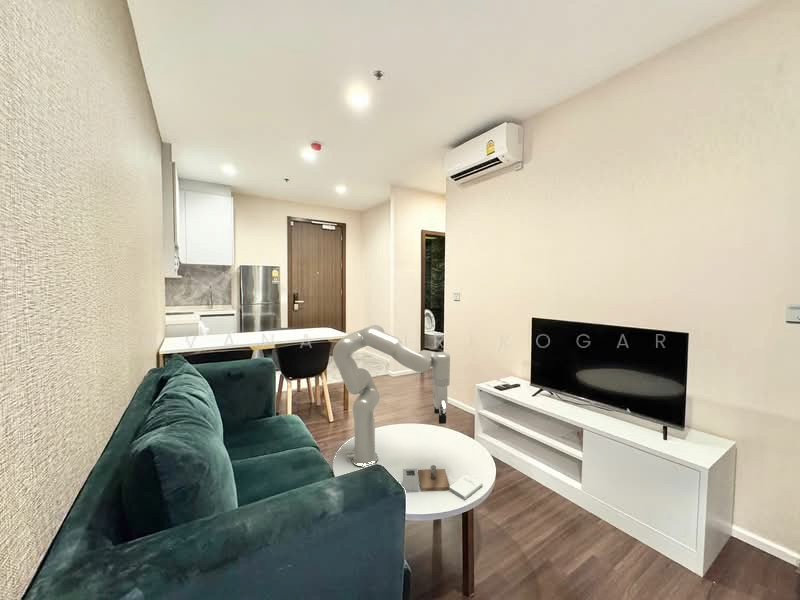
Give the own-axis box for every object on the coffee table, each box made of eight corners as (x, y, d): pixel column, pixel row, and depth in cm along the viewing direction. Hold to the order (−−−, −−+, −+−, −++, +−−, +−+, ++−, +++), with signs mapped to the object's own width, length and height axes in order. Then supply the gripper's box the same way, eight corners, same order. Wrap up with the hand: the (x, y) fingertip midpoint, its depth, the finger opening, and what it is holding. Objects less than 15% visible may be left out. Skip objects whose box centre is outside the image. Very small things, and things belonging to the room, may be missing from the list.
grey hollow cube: (403, 491, 132) (403, 477, 131) (402, 482, 138) (402, 468, 137) (418, 491, 132) (418, 477, 131) (416, 481, 138) (417, 468, 137)
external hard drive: (448, 490, 133) (466, 476, 141) (464, 500, 127) (482, 486, 135) (448, 486, 133) (466, 473, 141) (464, 496, 127) (482, 482, 135)
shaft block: (420, 491, 132) (421, 476, 131) (417, 472, 144) (417, 458, 143) (450, 490, 133) (450, 475, 132) (444, 472, 145) (444, 458, 144)
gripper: (429, 374, 151) (428, 410, 152) (436, 388, 134) (435, 428, 135) (445, 374, 151) (444, 409, 153) (454, 387, 134) (453, 427, 136)
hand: (440, 418), depth 144 cm, fingers open, 9 cm apart
